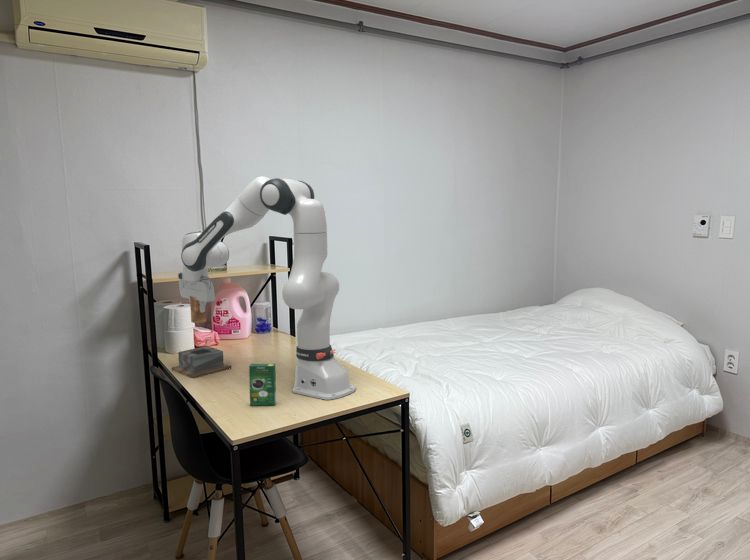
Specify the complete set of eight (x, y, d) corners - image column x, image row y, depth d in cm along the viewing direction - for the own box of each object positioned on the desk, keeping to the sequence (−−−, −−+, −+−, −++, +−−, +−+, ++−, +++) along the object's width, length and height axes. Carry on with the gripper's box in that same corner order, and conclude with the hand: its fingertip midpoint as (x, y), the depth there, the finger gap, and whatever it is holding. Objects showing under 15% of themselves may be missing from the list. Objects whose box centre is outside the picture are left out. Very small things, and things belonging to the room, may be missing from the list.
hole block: (231, 368, 201) (230, 350, 200) (192, 378, 189) (191, 360, 188) (209, 360, 212) (208, 344, 211) (171, 369, 200) (170, 352, 199)
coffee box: (277, 402, 165) (275, 362, 163) (275, 406, 162) (274, 365, 160) (252, 403, 165) (250, 362, 163) (249, 406, 162) (247, 365, 160)
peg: (206, 321, 198) (204, 295, 197) (196, 323, 195) (195, 297, 194) (201, 320, 201) (199, 294, 199) (191, 322, 198) (189, 296, 197)
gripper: (218, 276, 191) (220, 313, 193) (190, 272, 205) (192, 306, 207) (202, 278, 186) (204, 316, 188) (175, 273, 200) (177, 309, 202)
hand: (198, 311), depth 197 cm, fingers closed on peg, 4 cm apart
